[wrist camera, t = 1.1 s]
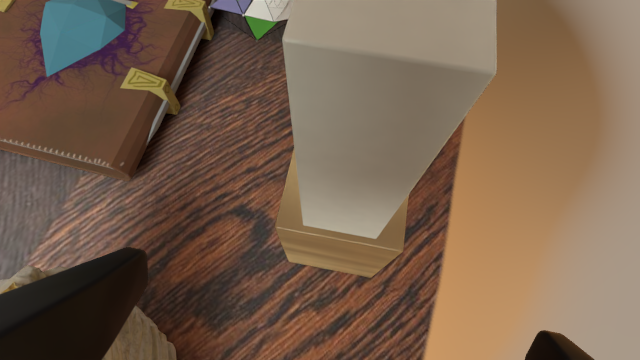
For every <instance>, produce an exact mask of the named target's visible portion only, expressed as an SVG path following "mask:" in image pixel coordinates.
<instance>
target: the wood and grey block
mask: <svg viewBox="0 0 640 360" xmlns="http://www.w3.org/2000/svg"><path fill="white" fill-rule="evenodd" d="M408 197H409V195H408V196H407V197H406V199H405V200H404V201H403V203H402V204H401V206H400V207H399V208H398V210H397V211H396V212H395V214H394V215H393V216H392V218H391V219H390V221H389V222H388V223H387V225H386V226H385V227H384V229H383V230H382V232H381V233H380V234H379V236H378V237H377V238H376V239H373V238H368V237H362V236H357V235H352V234H347V233H341V232H336V231H331V230H326V229H320V228H315V227H310V226H304V225H303V221H302V212H301V203H300V194H299V185H298V176H297V167H296V158H295V149H294V150H293V154H292V158H291V162H290V166H289V170H288V174H287V179H286V183H285V187H284V191H283V195H282V199H281V203H280V207H279V211H278V215H277V219H276V223H275V229H276V231H277V234H278V236H279V239H280V241H281V244H282V246H283V249H284V251H285V254H286V256H287V259H288V261H289V262H293V263H298V264H303V265H309V266H314V267H319V268H324V269H329V270H334V271H339V272H344V273H349V274H354V275H359V276H365V277H370V278H371V277H372V276H374V275H375V274H376V273H377V272H379V271H380V270H381V269H382V268H383V267H385V266H386V265H387V264H388V263H390V262H391V261H392V260H393V259H394V258H396V257H397V256H398V255H399V254H401V253H402V252H403V247H404V237H405V227H406V217H407V207H408Z"/></svg>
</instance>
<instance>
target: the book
mask: <svg viewBox="0 0 640 360" xmlns="http://www.w3.org/2000/svg"><path fill="white" fill-rule="evenodd" d="M216 1H217V0H211V3H210V0H0V150H4V151H8V152H12V153H16V154H20V155H24V156H28V157H32V158H36V159H40V160H44V161H48V162H52V163H56V164H60V165H64V166H68V167H72V168H76V169H80V170H84V171H88V172H92V173H96V174H100V175H104V176H108V177H112V178H116V179H120V180H124V181H130V180H131V179H132V177H133V175H134V173H135V171H136V169H137V166H138V164H139V162H140V160H141V158H142V156H143V154H144V152H145V150H146V148H147V145H148V143H149V141H150V140H151V138H152V137H153V135H154V134H155V132H156V131H157V130H158V128H159V126H160V124H161V122H162V120H163V118H164V116H165V113H168V114H175V115H177V113H178V111H179V109H180V107H181V106H180V104H179V102H178V100H177V98H176V97H175V95H174V94H175V92H176V90H177V88H178V86H179V84H180V82H181V80H182V78H183V75H184V73H185V71H186V69H187V67H188V65H189V63H190V61H191V59H192V56H193V54H194V52H195V50H196V48H197V46H198V44H199V42H200V40H201V39H207V40H211V39H212V37H213V35H214V31H213V27H212V24H211V20H210V18H211V16H212V14H213V12H214V10H215V9H214V8H212V9H213V10H212V9H211V8H210V9H209V8H208V7H209V4H210V6H211V5H213V4H214V3H215V2H216Z"/></svg>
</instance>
